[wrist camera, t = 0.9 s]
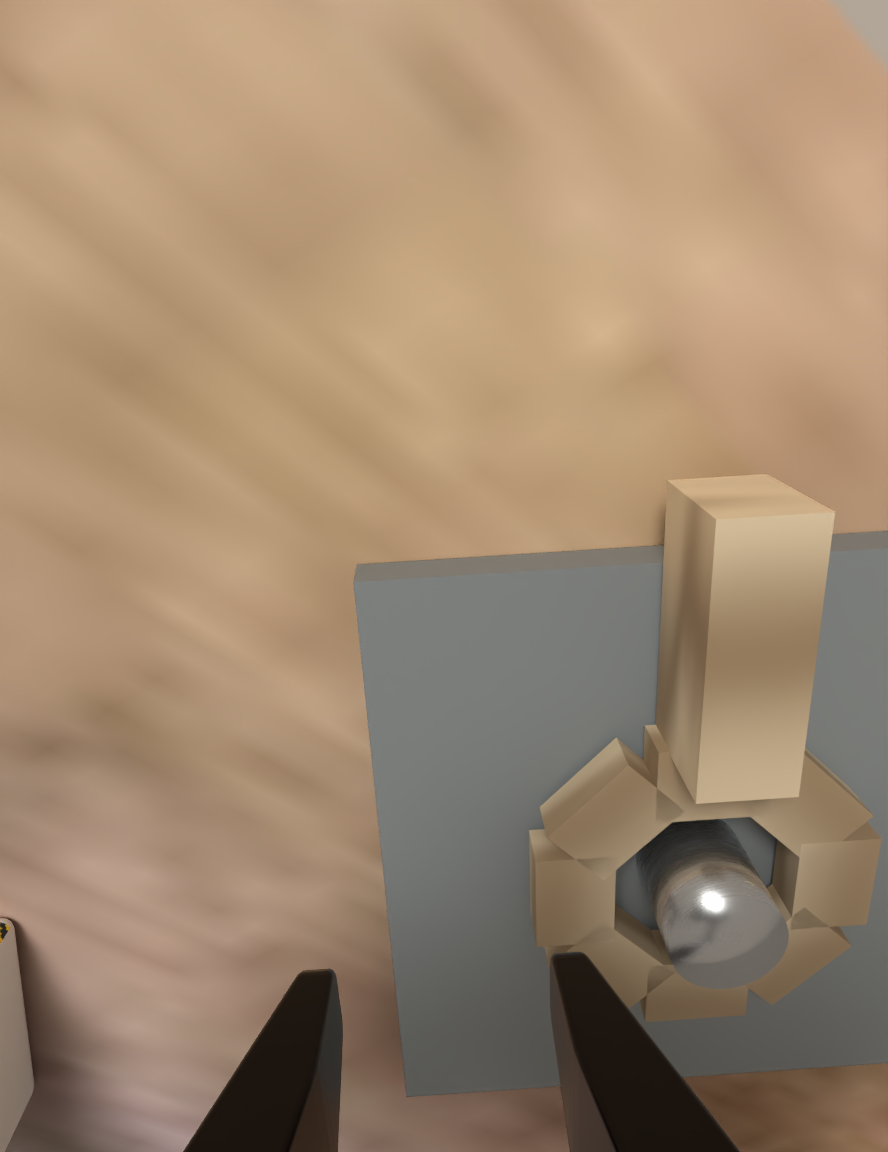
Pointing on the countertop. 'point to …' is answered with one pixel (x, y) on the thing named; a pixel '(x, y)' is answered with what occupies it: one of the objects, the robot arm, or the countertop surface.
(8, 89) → the countertop surface
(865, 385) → the countertop surface
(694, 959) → the grey shiny ball
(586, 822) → the ring with handle
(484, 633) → the board
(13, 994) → the printed carton box
